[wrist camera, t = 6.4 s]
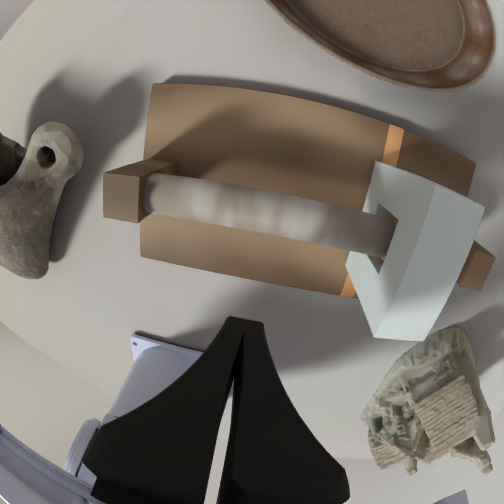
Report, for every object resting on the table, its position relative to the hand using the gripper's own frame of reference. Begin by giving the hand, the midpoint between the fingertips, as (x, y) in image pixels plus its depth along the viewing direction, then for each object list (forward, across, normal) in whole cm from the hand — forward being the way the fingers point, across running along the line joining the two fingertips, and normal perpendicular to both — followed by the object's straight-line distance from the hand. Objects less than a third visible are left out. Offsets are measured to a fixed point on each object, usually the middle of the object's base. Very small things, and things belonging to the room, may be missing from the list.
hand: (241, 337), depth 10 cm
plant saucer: (+10, -5, -21) cm, 23 cm away
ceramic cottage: (+10, -21, +13) cm, 27 cm away
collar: (+8, -7, -4) cm, 11 cm away
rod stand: (+9, -3, -4) cm, 10 cm away
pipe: (+10, +21, -1) cm, 23 cm away
